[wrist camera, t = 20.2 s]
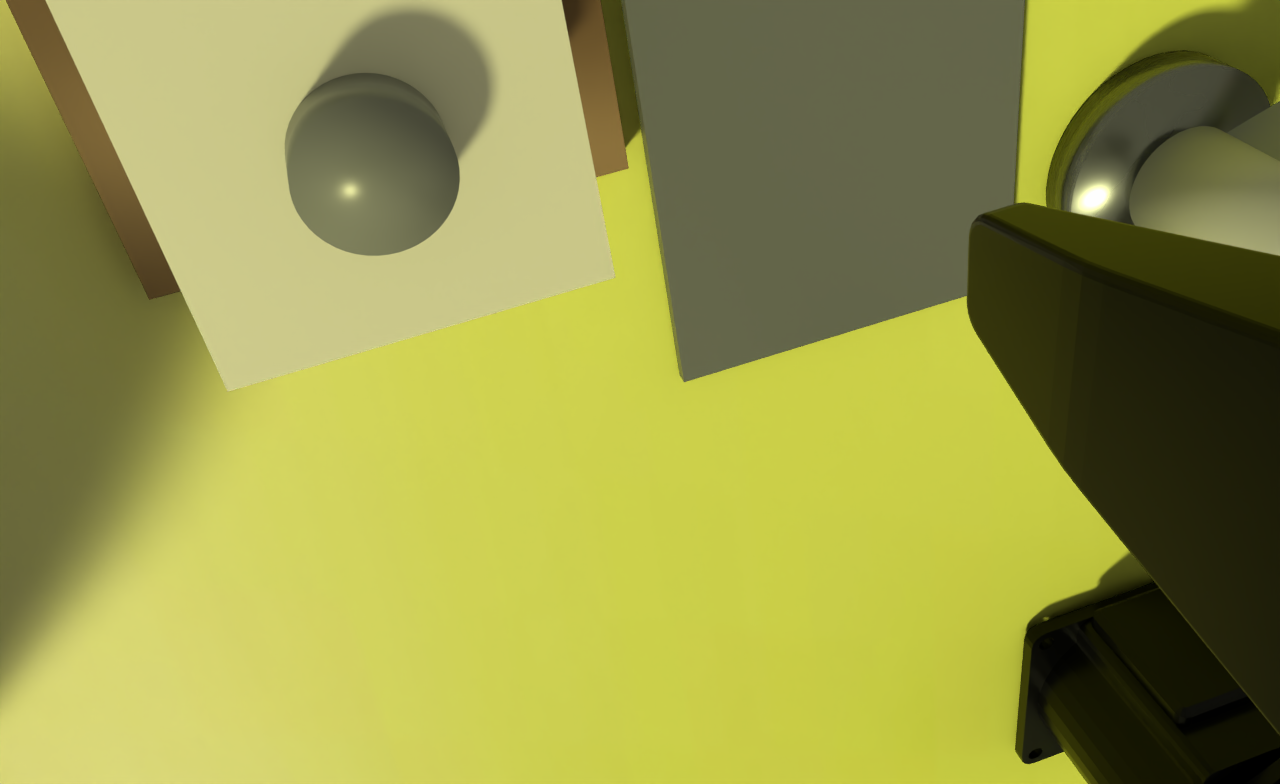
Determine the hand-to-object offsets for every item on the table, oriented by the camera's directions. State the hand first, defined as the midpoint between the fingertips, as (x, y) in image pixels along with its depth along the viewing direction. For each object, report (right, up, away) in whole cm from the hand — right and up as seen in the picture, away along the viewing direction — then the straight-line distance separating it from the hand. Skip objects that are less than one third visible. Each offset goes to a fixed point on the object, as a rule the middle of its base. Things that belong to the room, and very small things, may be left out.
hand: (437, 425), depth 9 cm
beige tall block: (-4, +7, +10) cm, 12 cm away
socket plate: (+5, +6, +15) cm, 17 cm away
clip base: (+13, +6, +18) cm, 23 cm away
